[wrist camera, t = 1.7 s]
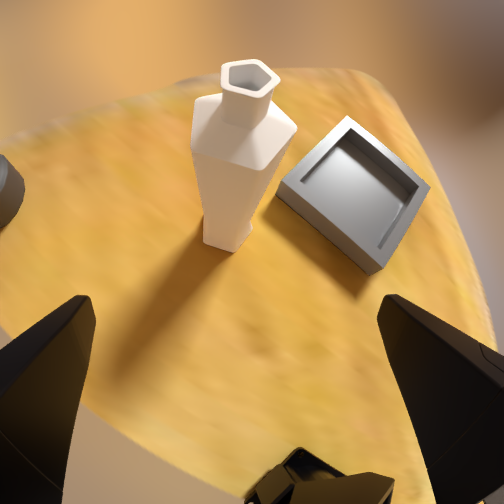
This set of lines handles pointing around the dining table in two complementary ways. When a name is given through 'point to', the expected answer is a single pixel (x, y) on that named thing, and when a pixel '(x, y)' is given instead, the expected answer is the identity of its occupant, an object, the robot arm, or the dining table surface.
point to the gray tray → (355, 194)
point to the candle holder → (9, 191)
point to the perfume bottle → (237, 149)
